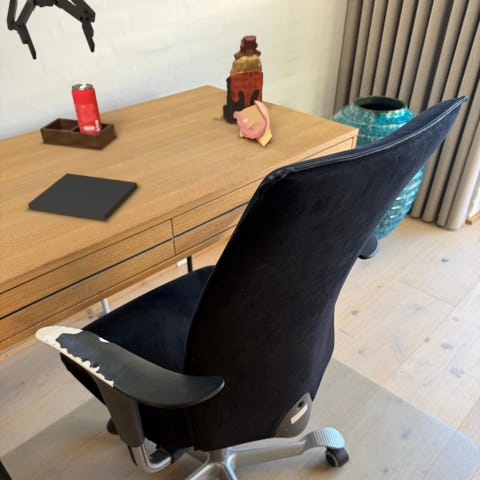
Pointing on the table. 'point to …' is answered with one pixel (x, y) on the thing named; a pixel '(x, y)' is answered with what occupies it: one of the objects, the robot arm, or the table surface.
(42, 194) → the mat
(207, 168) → the table surface
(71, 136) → the divided desk organizer tray
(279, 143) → the table surface
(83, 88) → the beverage can
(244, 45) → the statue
